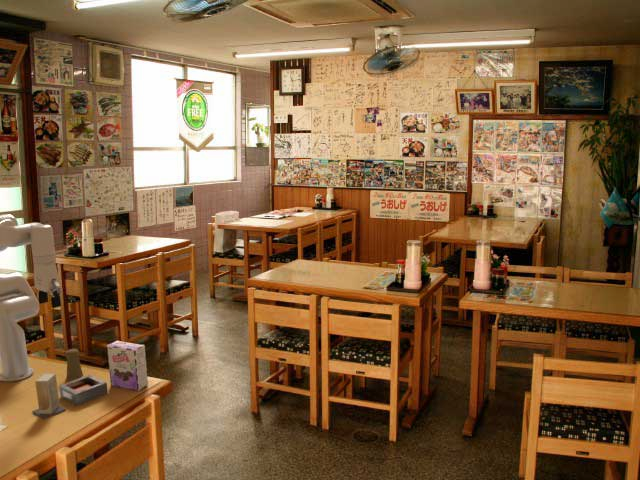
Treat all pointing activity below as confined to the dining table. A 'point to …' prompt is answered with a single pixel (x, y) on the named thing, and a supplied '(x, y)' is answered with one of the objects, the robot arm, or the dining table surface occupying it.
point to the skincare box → (47, 393)
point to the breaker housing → (84, 395)
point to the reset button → (82, 387)
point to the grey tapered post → (73, 364)
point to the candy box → (127, 365)
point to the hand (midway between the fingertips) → (50, 304)
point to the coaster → (44, 416)
